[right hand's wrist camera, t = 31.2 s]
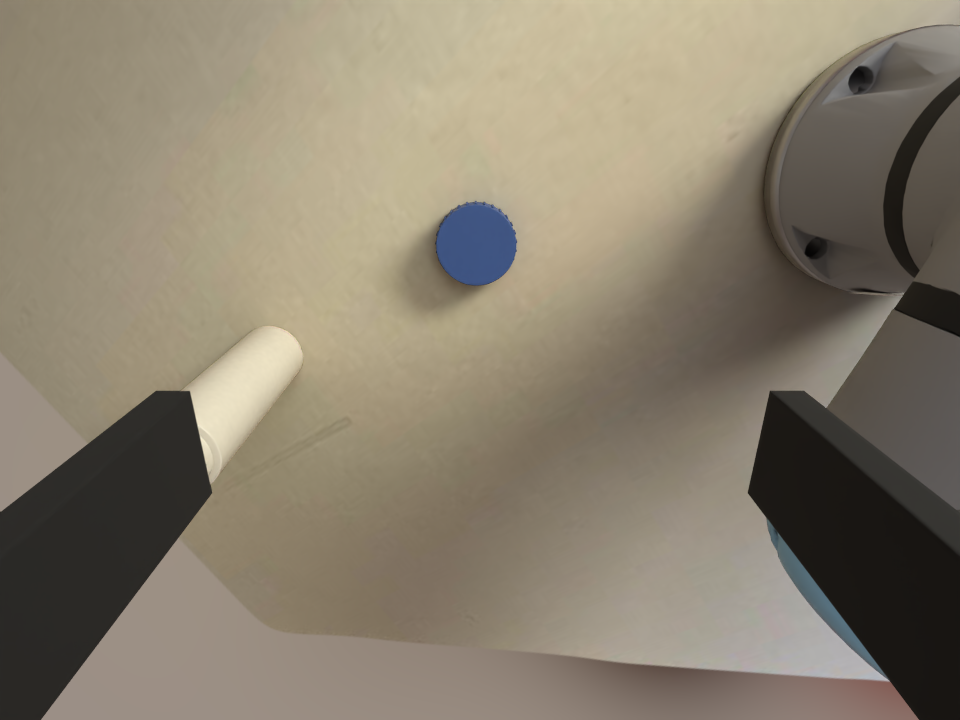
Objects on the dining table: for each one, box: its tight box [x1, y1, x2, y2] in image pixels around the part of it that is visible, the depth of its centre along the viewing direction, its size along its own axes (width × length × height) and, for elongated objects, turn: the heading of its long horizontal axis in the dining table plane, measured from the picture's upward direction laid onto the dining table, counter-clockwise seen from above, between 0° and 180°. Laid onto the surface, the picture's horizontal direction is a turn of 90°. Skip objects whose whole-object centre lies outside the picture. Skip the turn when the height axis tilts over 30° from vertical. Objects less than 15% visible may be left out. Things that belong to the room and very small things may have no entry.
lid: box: [435, 201, 517, 285], centre depth 36 cm, size 5×5×2 cm
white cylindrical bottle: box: [180, 326, 303, 484], centre depth 33 cm, size 4×4×15 cm
